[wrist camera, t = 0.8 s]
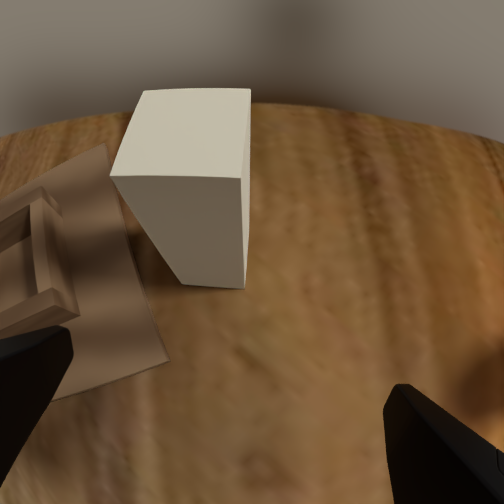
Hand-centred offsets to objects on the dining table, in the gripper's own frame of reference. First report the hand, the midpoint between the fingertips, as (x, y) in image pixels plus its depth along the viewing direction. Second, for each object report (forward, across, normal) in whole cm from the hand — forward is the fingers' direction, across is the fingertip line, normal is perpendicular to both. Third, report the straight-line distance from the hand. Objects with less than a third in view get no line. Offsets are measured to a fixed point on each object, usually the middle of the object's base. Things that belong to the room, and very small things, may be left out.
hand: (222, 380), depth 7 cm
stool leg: (+15, +3, +2) cm, 15 cm away
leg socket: (+12, +18, +6) cm, 23 cm away
